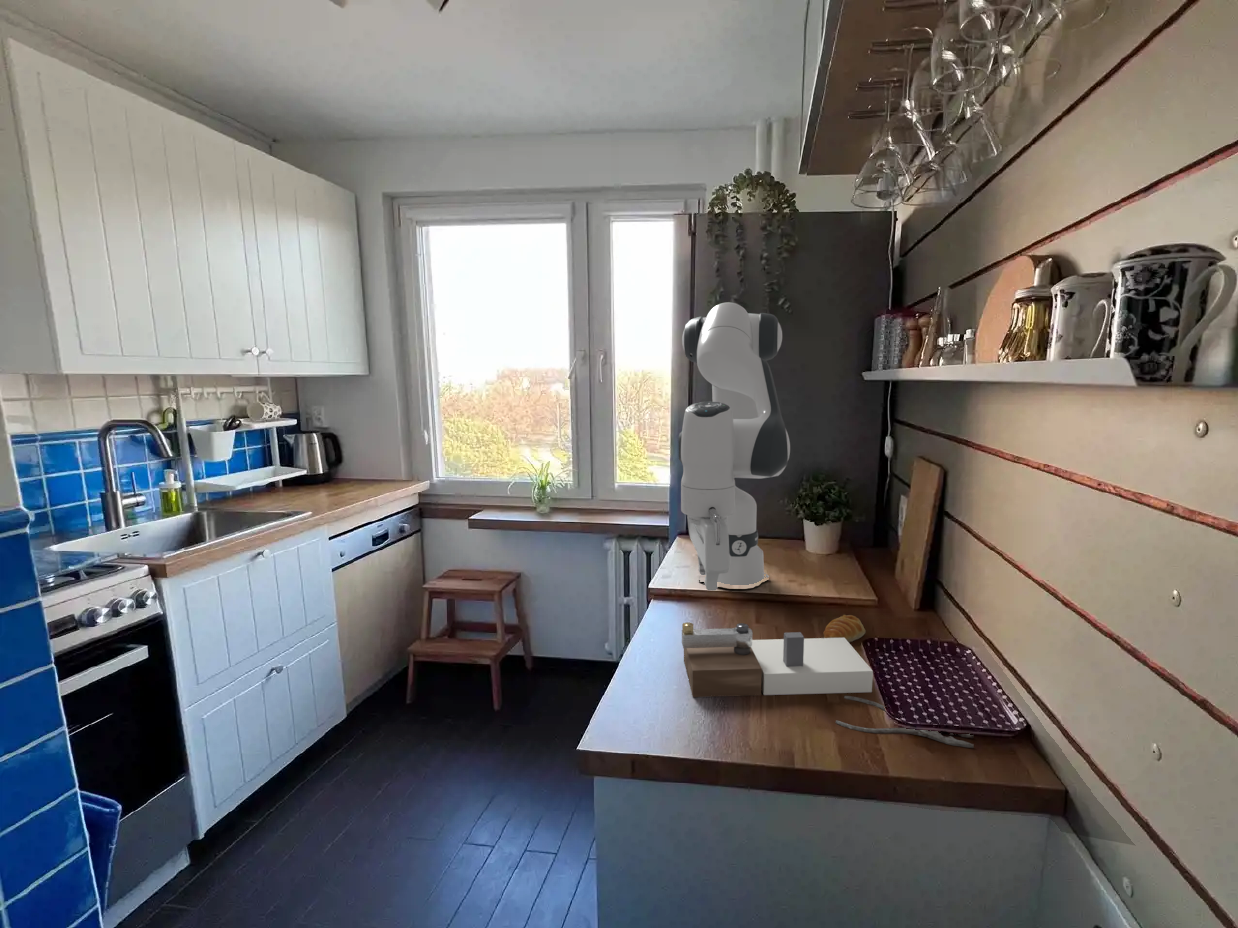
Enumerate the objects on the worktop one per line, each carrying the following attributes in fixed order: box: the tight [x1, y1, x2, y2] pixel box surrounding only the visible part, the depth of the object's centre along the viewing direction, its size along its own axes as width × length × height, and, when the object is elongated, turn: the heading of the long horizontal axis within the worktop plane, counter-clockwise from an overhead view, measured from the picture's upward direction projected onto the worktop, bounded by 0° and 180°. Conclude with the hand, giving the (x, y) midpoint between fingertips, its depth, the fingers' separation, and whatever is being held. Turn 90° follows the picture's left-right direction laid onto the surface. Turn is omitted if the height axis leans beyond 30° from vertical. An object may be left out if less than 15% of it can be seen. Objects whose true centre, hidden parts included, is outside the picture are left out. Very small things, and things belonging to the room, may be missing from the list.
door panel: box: [751, 631, 874, 696], centre depth 112 cm, size 13×19×10 cm
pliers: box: [835, 695, 975, 749], centre depth 98 cm, size 10×1×20 cm
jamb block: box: [683, 647, 762, 698], centre depth 112 cm, size 13×12×6 cm
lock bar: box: [681, 622, 753, 649], centre depth 111 cm, size 13×4×4 cm, turn 91°
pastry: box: [823, 614, 866, 643], centre depth 128 cm, size 9×7×4 cm
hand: (707, 581), depth 103 cm, fingers open, 6 cm apart
